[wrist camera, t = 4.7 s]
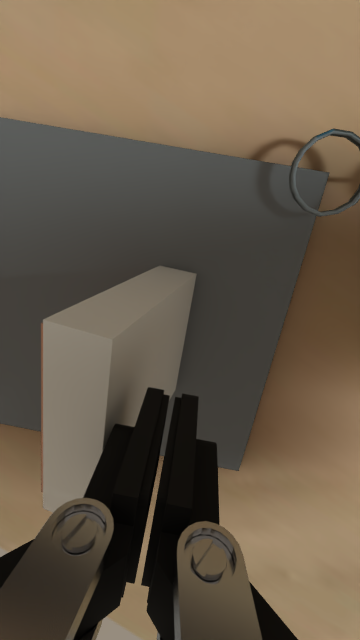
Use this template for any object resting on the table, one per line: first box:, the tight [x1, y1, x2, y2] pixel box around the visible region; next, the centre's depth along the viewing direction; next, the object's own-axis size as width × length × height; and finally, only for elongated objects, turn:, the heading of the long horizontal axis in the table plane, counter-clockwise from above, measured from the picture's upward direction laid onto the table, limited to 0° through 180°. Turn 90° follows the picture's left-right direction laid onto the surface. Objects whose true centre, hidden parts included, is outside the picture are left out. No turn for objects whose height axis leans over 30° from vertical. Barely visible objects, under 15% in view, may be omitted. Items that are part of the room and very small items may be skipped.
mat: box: [0, 117, 329, 471], centre depth 18 cm, size 22×18×1 cm
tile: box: [41, 266, 197, 513], centre depth 13 cm, size 2×7×9 cm, turn 171°
